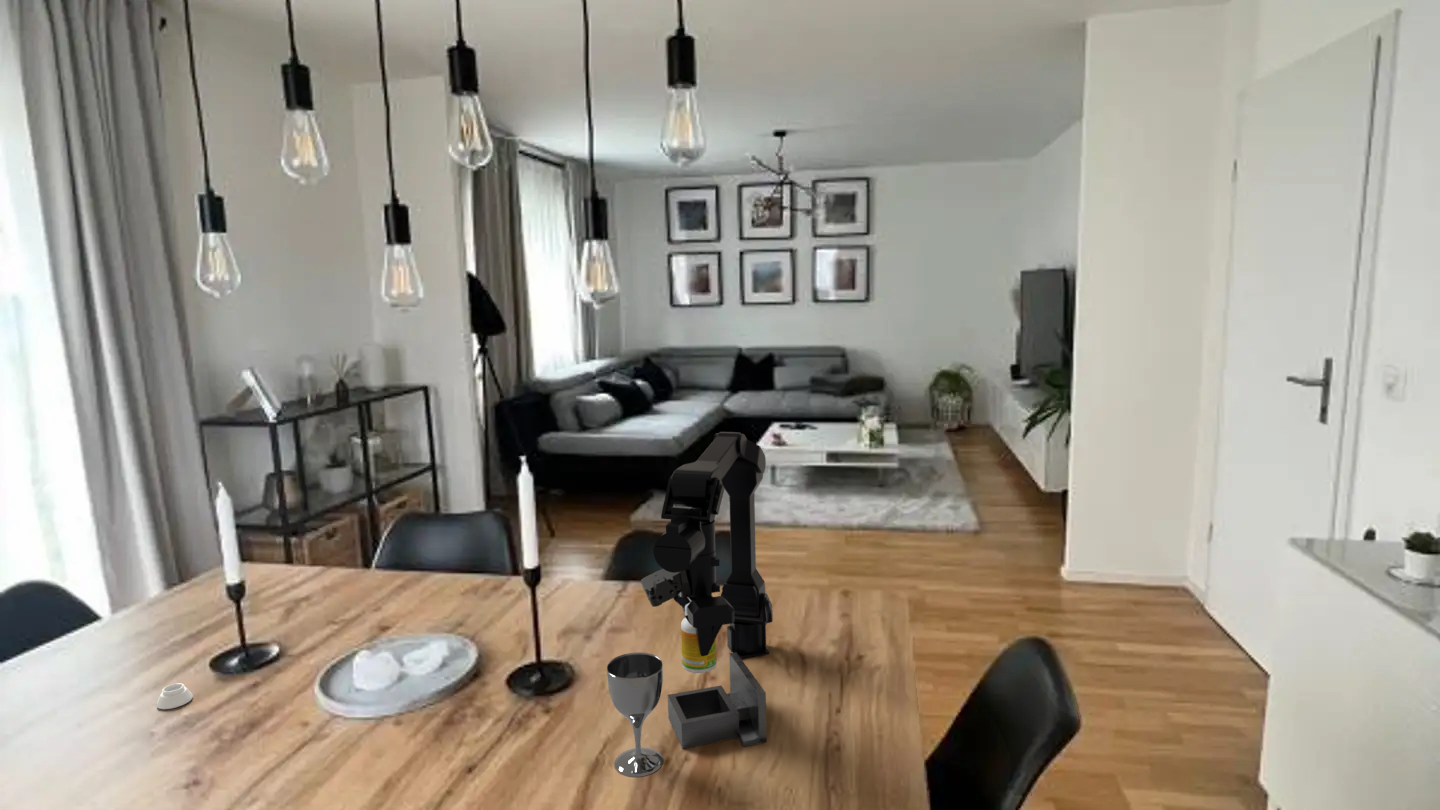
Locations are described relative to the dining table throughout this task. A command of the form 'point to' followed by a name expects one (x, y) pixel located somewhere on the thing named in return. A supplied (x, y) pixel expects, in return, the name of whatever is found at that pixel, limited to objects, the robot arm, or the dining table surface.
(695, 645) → the supplement bottle
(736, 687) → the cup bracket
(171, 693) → the white upside-down bowl
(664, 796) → the dining table surface
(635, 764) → the wine glass
